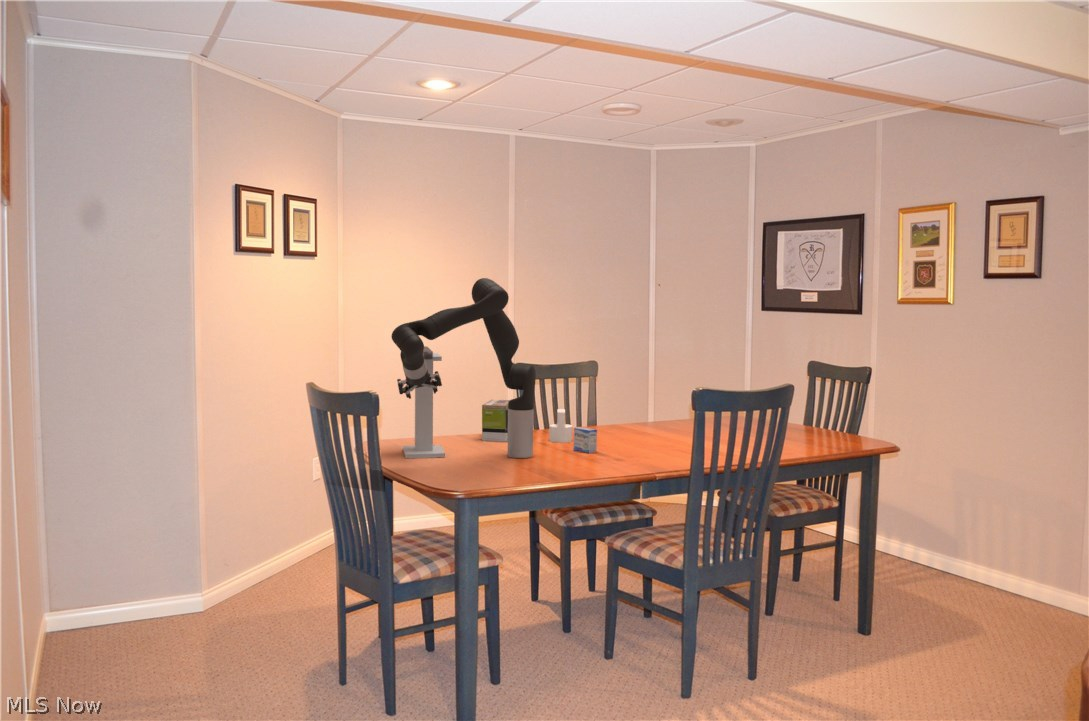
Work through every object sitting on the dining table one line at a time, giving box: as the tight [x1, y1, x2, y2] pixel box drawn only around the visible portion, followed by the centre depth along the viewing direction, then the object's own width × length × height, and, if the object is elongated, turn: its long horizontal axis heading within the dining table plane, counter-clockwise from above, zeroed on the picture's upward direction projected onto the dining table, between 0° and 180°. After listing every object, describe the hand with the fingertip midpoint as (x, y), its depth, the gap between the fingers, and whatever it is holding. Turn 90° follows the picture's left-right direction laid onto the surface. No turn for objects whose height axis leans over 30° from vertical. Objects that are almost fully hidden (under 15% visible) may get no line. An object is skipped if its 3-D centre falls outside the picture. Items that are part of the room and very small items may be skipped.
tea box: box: [481, 399, 511, 443], centre depth 347 cm, size 15×10×15 cm, turn 168°
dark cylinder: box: [423, 345, 434, 359], centre depth 306 cm, size 27×3×2 cm, turn 13°
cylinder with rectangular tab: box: [548, 408, 573, 444], centre depth 344 cm, size 9×9×12 cm
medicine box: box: [573, 426, 598, 454], centre depth 324 cm, size 8×4×9 cm, turn 47°
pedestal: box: [402, 352, 446, 459], centre depth 313 cm, size 16×14×36 cm
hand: (422, 393), depth 294 cm, fingers open, 8 cm apart
